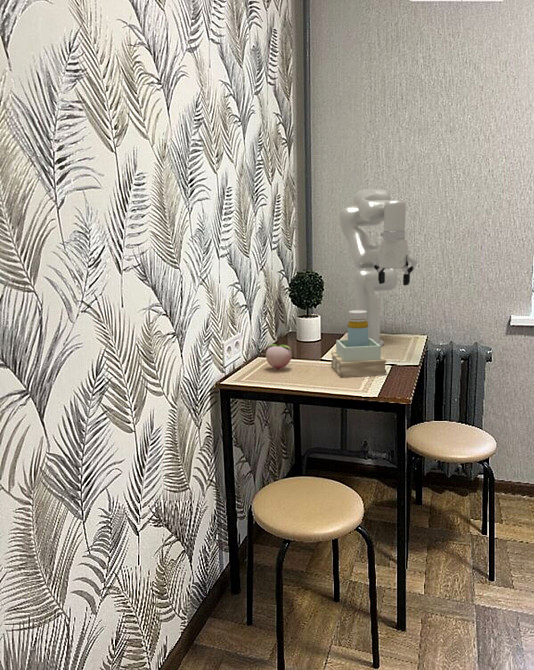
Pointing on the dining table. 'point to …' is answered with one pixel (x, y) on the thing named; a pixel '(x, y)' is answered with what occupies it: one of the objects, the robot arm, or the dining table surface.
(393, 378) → the dining table surface
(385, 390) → the dining table surface
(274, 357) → the decorative fruit
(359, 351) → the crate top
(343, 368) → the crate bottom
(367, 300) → the robot arm
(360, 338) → the bottle
